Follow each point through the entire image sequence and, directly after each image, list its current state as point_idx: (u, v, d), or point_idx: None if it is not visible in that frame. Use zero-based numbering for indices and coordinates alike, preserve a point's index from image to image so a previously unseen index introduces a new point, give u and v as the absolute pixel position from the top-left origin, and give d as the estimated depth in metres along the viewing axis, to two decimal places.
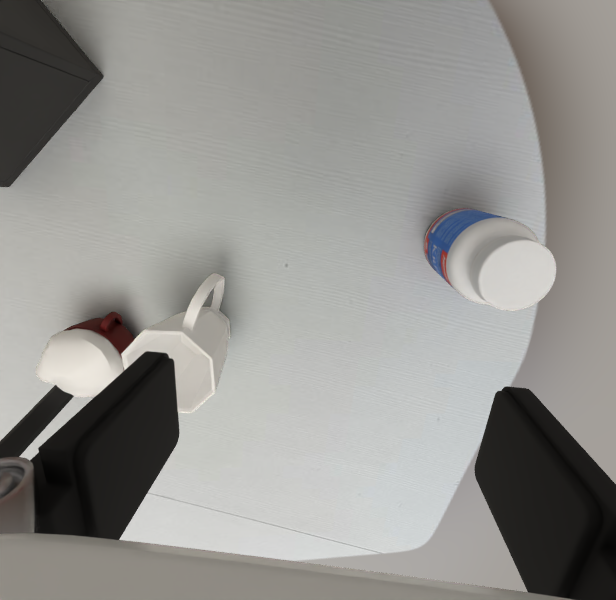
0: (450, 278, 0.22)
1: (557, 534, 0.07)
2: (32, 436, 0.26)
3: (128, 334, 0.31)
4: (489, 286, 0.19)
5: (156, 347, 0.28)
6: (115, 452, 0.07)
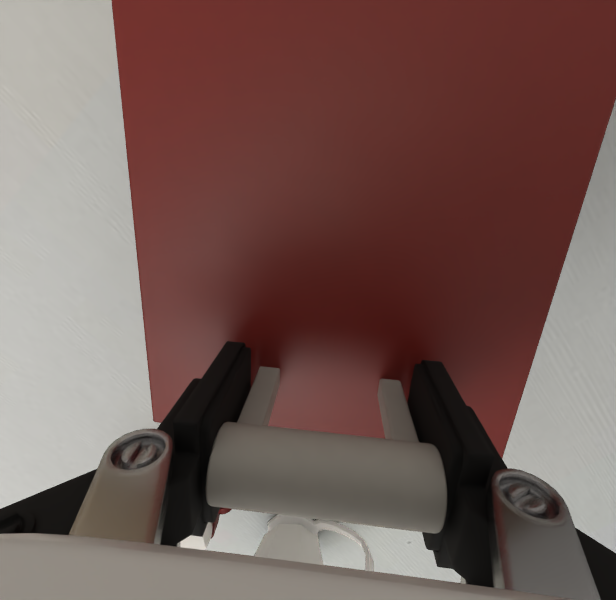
0: None
1: None
2: None
3: None
4: None
5: None
6: None
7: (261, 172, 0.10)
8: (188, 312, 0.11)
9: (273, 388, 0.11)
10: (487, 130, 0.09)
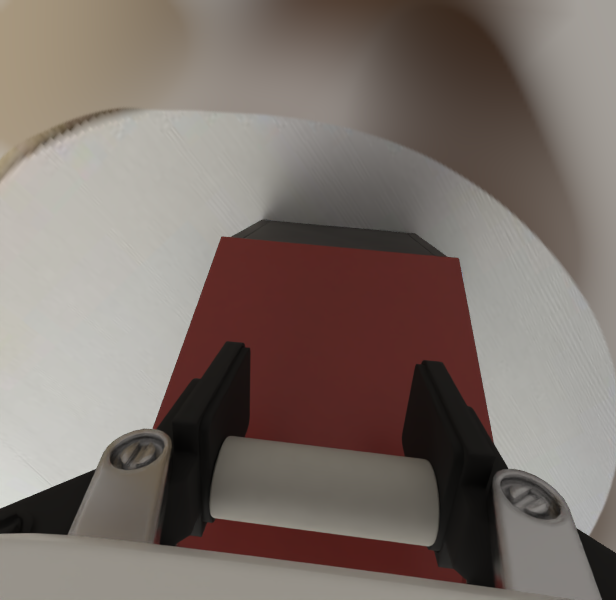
0: None
1: (438, 477, 0.08)
2: None
3: None
4: None
5: None
6: (221, 428, 0.08)
7: (276, 330, 0.15)
8: None
9: None
10: (407, 317, 0.16)
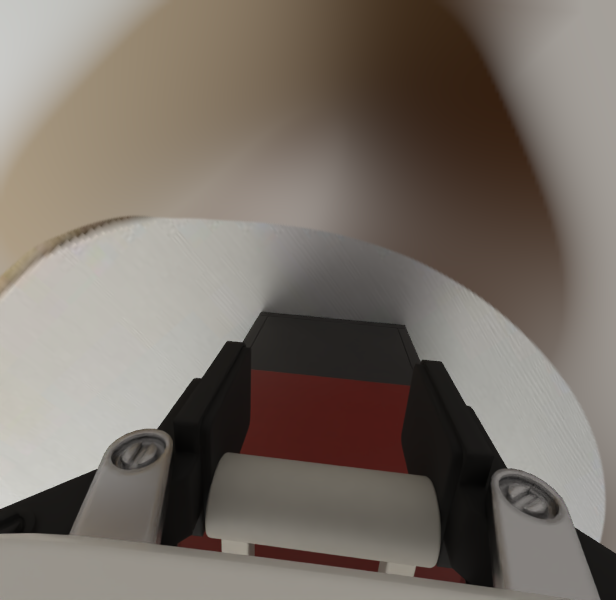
0: None
1: (437, 477, 0.08)
2: None
3: None
4: None
5: None
6: (222, 428, 0.08)
7: (269, 436, 0.16)
8: None
9: None
10: (395, 430, 0.17)
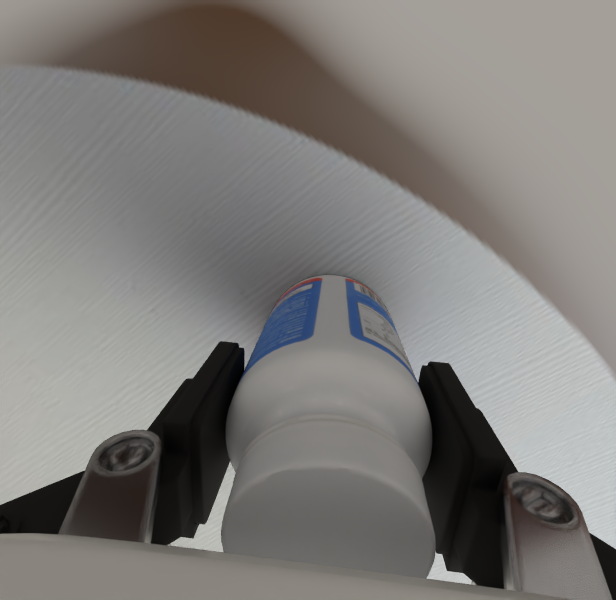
0: None
1: (447, 480, 0.08)
2: None
3: None
4: None
5: None
6: (213, 429, 0.08)
7: None
8: None
9: None
10: None
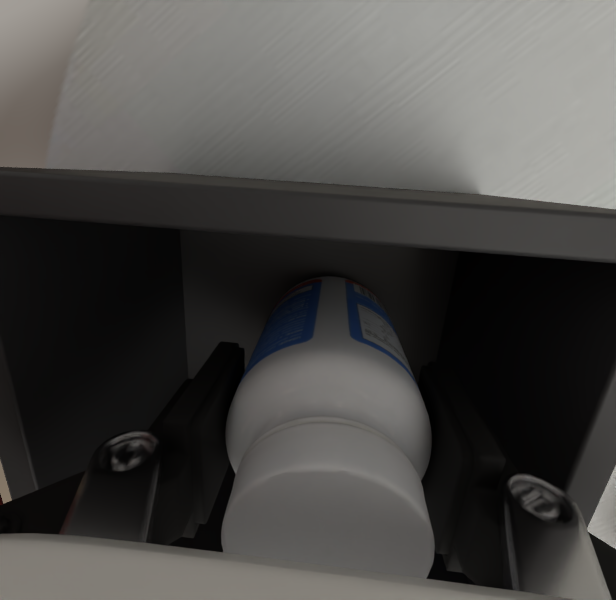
0: None
1: (447, 480, 0.08)
2: None
3: None
4: None
5: None
6: (213, 429, 0.08)
7: None
8: None
9: None
10: None
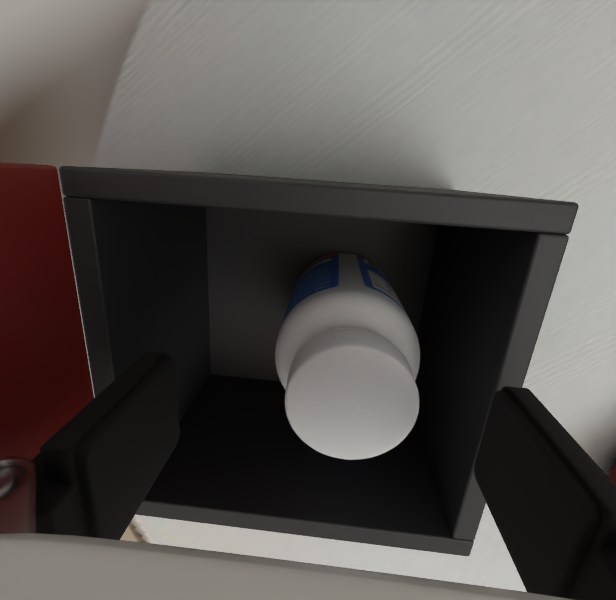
0: None
1: (556, 533, 0.07)
2: None
3: None
4: (332, 444, 0.11)
5: None
6: (116, 452, 0.07)
7: None
8: None
9: None
10: None
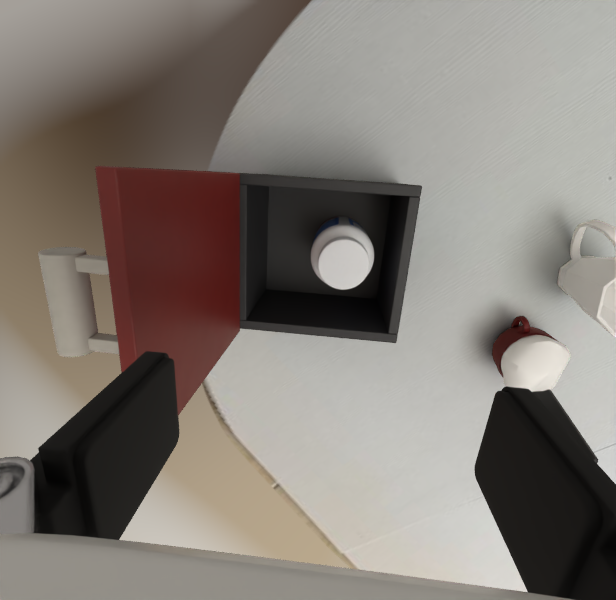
0: None
1: (557, 534, 0.07)
2: (573, 425, 0.31)
3: (531, 327, 0.37)
4: (336, 282, 0.27)
5: None
6: (115, 452, 0.07)
7: None
8: None
9: None
10: None
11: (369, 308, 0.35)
